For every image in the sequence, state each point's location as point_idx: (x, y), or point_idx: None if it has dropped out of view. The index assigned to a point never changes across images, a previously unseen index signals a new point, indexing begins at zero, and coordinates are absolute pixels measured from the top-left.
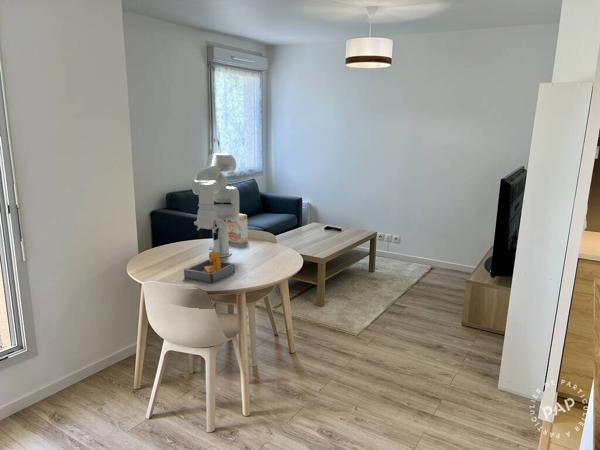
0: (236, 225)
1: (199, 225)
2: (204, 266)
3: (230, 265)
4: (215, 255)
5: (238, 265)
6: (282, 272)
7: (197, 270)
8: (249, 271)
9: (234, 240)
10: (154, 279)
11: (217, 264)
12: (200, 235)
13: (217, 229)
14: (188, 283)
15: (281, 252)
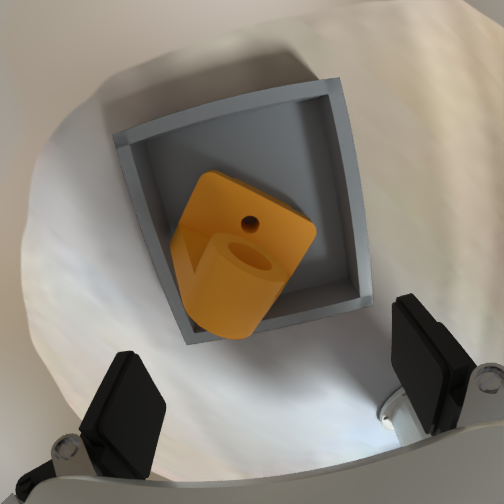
0: None
1: (474, 489)
2: (348, 252)
3: (173, 314)
4: (196, 278)
5: (262, 381)
6: (80, 397)
7: (337, 188)
8: (158, 358)
9: None
10: (420, 10)
11: (183, 247)
12: (406, 335)
13: (31, 481)
14: (237, 50)
15: None
